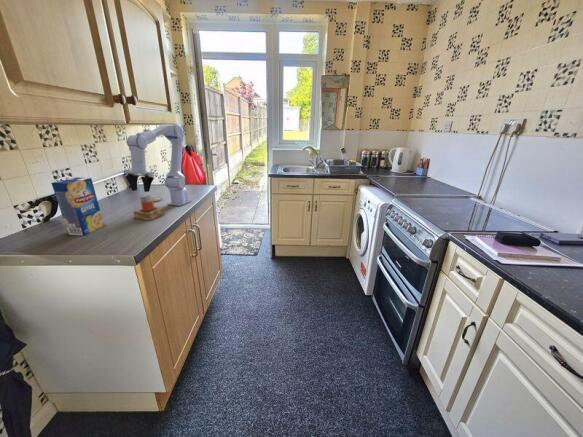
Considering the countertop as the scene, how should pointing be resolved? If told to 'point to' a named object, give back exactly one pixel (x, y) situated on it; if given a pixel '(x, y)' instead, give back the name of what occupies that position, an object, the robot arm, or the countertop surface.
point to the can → (147, 202)
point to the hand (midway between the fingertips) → (140, 191)
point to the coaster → (156, 199)
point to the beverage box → (78, 205)
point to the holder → (148, 214)
